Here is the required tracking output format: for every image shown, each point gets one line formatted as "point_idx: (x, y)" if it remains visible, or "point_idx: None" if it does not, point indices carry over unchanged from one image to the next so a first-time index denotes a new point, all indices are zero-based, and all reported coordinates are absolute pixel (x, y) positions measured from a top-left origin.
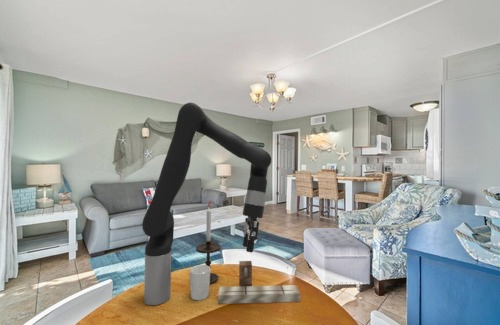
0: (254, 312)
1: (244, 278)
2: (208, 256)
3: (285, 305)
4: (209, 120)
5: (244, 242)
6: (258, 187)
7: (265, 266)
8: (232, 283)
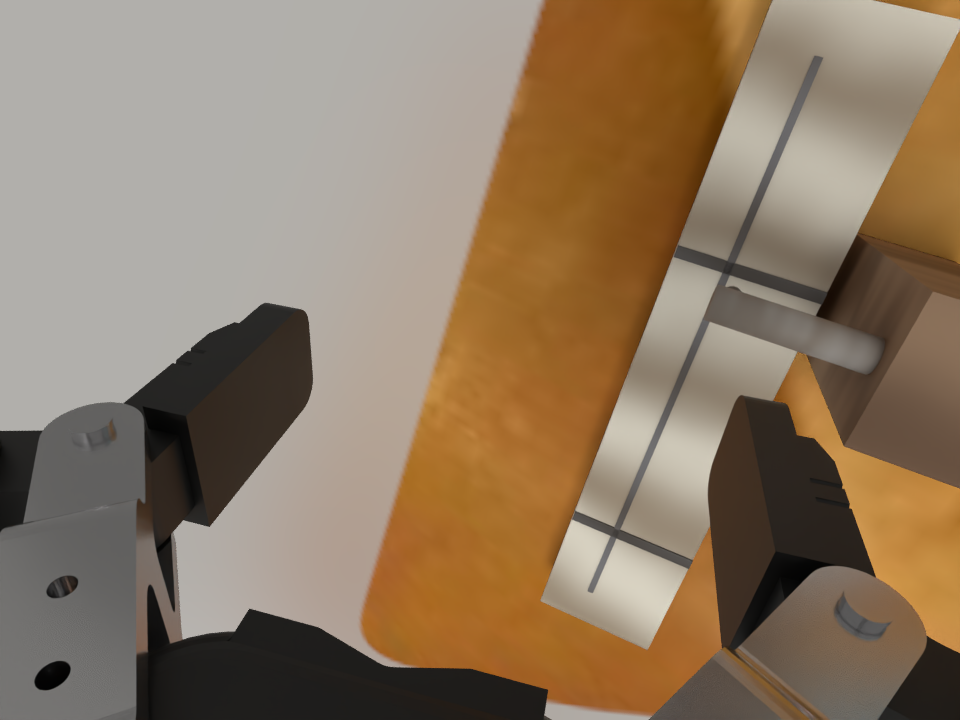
0: (550, 257)
1: (857, 311)
2: None
3: (549, 471)
4: None
5: (745, 460)
6: None
7: None
8: None
